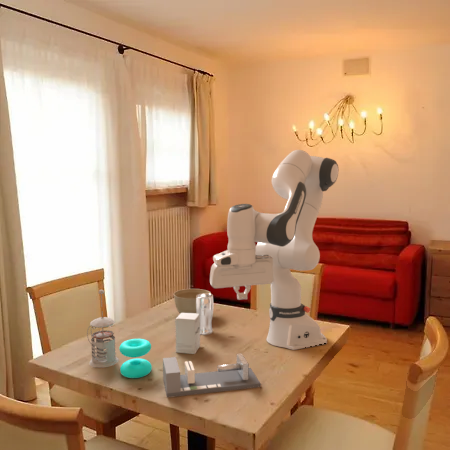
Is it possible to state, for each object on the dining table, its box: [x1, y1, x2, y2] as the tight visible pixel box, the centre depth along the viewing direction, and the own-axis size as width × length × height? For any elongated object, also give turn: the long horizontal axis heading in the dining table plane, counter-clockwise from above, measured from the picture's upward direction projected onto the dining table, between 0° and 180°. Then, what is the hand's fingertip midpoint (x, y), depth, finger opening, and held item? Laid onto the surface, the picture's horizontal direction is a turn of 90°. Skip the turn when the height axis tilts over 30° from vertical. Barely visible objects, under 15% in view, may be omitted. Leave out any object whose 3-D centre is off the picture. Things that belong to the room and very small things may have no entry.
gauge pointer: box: [184, 360, 196, 384], centre depth 141 cm, size 2×6×4 cm, turn 13°
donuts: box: [118, 338, 153, 379], centre depth 151 cm, size 10×10×10 cm
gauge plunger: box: [216, 352, 250, 380], centre depth 145 cm, size 9×8×5 cm
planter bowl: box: [173, 288, 212, 314], centre depth 205 cm, size 16×16×11 cm
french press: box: [86, 289, 119, 368], centre depth 159 cm, size 10×12×25 cm
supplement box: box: [175, 313, 201, 355], centre depth 169 cm, size 7×7×13 cm
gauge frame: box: [162, 356, 261, 398], centre depth 143 cm, size 28×11×7 cm, turn 103°
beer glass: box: [196, 293, 214, 336], centre depth 187 cm, size 7×7×15 cm
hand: (242, 299), depth 150 cm, fingers closed
